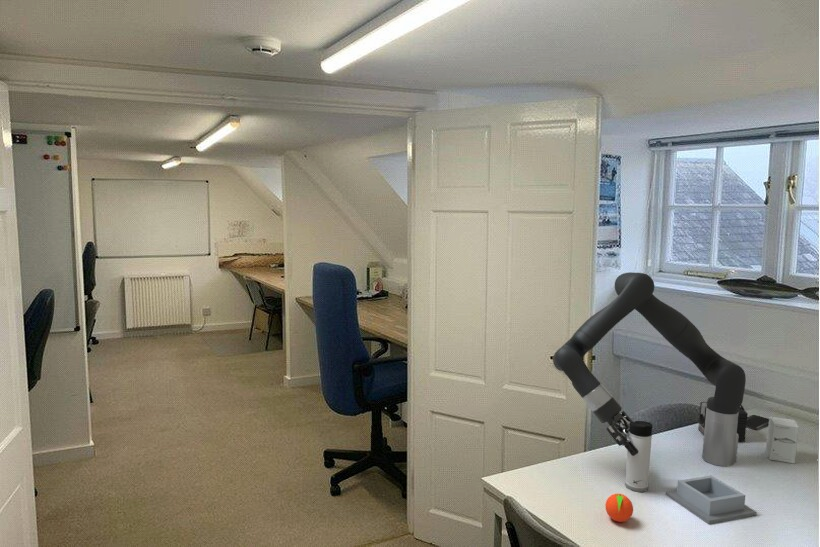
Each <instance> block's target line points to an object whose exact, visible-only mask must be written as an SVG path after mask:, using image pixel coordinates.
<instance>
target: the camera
mask: <svg viewBox="0 0 820 547" xmlns="http://www.w3.org/2000/svg"><path fill="white" fill-rule="evenodd" d="M699 404H700V405H699V414H698V415H699V417H698V427H697V430H698V431H699V432H700V433H701V434H702V435H703V436H704V430H705V419H706V407H707V401H701V402H700V403H699ZM748 415H749V413H748V412H747V411H746V410H745V408H744V406H743V404H741V406H740V408H739V413H738V424H737V433H738V435H739V438H738V443H745V442H746V433H747V432H746V431H747V428H746V426H747V425H746V423H747V417H749V416H748Z"/></svg>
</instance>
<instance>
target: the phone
mask: <svg viewBox="0 0 820 547" xmlns="http://www.w3.org/2000/svg"><path fill="white" fill-rule="evenodd" d="M746 425H747V426H746V429H749V430H752V431H761V430H762V429H764V428H766V427H768V425H769V418H767V417H764V416H760V415H756V414H752V415H750V416H747V423H746Z"/></svg>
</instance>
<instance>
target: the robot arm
mask: <svg viewBox="0 0 820 547" xmlns="http://www.w3.org/2000/svg"><path fill="white" fill-rule="evenodd" d="M614 291H615V293H616V294H617V296H616V298H615V299H613V300H612V302H611V301H610V303H609V304H608V305H606V306H605V307H603V308H602V309H600V310H598V311H597V312H595V313H594V314H593V315H591V316H590V317H589V318H588V319H587V320H585V322H583V323H582V324H581V325H580V327H579V328H578V329H576V331H575V332H574V333H573V335H572V336H571V337H570V338H569V339H568V340H567V341H566V342H565V343H564V344H563V345H562V346H561V347H559V348H558V349H557V350H556V351H555V353H554V354H553V357H552V363H553V365H554V367H555V368H556V369H557V370H558V371H560V372H563V373H564V374H565V375H566V376H567V378H568V379H569V381H570V382H571V385H572V386H573V389H575V391H576V392H577V393H578V395H579V396H580V397H581V398H582V400H583V402H585V404H586V406H587V407H588V408H589V410H590V411H591V412H592V413H593V414H594V416H595V417H596V418H597V419H598V421H599V422H600V423H601V424H605V423H607V424H608V425H609V426H607V427H606V431H607V432H608V433H609V435H610V437H611V438H613V440H614V441H615V443H616V444H617V445H618V446H619V447H621V446H623V447H624V448H625V449H626V450H628V451H629V453H630V454H631V455H632V456H634V455H636V454H638V452H639V451H638V450H637V448H636V447H635V446H634V445H633V444H632V442H631V441H630V440H629V438H628V436H629V425H630V422H634V421H633V419H632V418H631V417H630V416H629V415H628V414H627V413H626V412H625V411H624V410H622V409H623V408H622V406H621V405H620V403H619V402H618V401H617V400H616V399H615V397H613V395H612V394H611V393H610V392H609V390H608V389H607V388H606V387H605V386H604V385H603V384H601V382H600V381H599V379H598V378H596V376H595V375H594V374H593V373H592V371H591V370H590V369H589V367H588V366H587V364H586V363H585V361H584V359H583V357H584V356H585V355H586V354H587V353H588V352H589V351H590V350H592V349H593V348H595V347H596V345H597V344H598V343H599V342H600V341H601V340H602V339H603V338H605V336H606V335H607V334H608V333H609V332H610V331H611V330H612V329H613V328H614V327H615V326H616V325H617V324H619V322H621V321H622V320H623V319H625V318H626V316H628V315H630V314H631V313H632V312H633V311H634V310H635V311H637V312H638V313H639V314H640V315H641V316H642V317H644V319H645V320H646V321H647V322H648V323H649V324H650V325H651V326H652V327H653V328H654V329H655V330H656V331H657V332H658V333H659V334H660V335H661V336H662V337H663V338H664V339H665V340H666V341H667V342H668V343H669V344H670V345H671V346H672V347H673V348H674V349H676V350H677V351H678V352H679V353H680V354H682V355H683V356H685V357H686V358H687V359H689V360H690V361H691V362H692V363H693V364H694V365H695V366H696V368H697V369H698V370H699V371H700V372H701V373H702V375H703V376H704V377H705V378H706V380H707V381H708V382H709V383H710V384H712V385H713V386H715V387H714V388H715V389H714V394H713V396H710V397H708V398H707V401H706V402H707V407H706V419H705V430H704V435H703V440H702V442H703V443H702V453H701V454H702V455H701V458H702V459H703V460H704V461H705V462H707V463H709V464H711V465H715V466H720V467H731V466H733V465H734V464H735V463H737V458H738V445H739V442H738V438H739V435H738V433H737V424H738V413H739V408H740V407H741V405H743V401H744V395H745V388H746V380H747V379H746V378H747V377H746V372H745V370H744V368H742V367H741V365H739V364H737V363H735V362H733V361H731V360H729V359H727V358H725V357H723V356H721V355H720V354H719V353H718V352H716V351H715V350H714V349H713V348H712V347H711V346H710V345H709V344H708V343H707V341H706V340H705V338H704V337H703V334H702V333H701V331H700V330H699V329H698V327H697V326H695V324H694V323H693V322H691V321H690V319H689V318H688V317H687V316H685V315H684V314H682V313H681V312H680V311H678V310H677V309H675V308H673V307H672V306H670V305H668V304H667V303H665V302H663V300H662V301H661V300H660V299H659V298H658V297H657V296H655V295H654V293H655V282H654V279H652V277H651V276H650V275H649V274H646V273H642V272H624V273H622V274H620V275H618V276H617V277H616V278H615V281H614Z"/></svg>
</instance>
